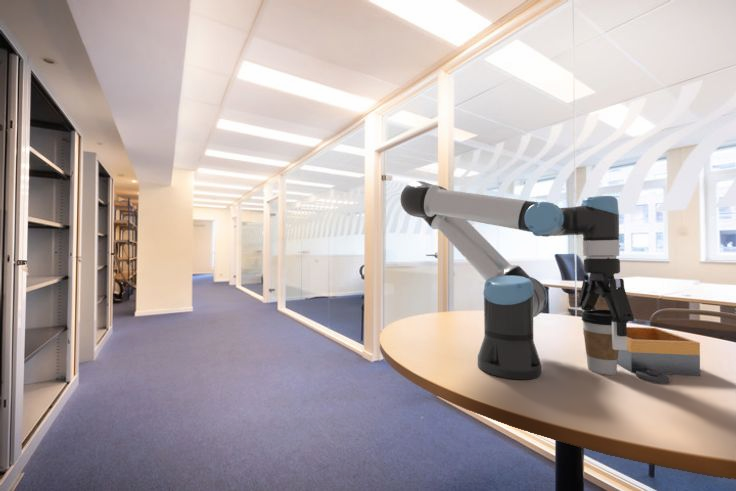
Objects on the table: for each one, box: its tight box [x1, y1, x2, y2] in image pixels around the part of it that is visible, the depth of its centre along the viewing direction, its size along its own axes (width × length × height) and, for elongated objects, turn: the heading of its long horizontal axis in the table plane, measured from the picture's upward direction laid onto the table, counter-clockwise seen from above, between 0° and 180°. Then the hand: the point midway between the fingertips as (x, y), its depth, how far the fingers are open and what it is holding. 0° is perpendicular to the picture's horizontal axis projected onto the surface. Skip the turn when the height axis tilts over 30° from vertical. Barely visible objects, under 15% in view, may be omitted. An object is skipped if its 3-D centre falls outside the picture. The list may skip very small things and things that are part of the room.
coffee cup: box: [581, 309, 619, 376], centre depth 83 cm, size 8×8×15 cm
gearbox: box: [617, 326, 701, 377], centre depth 88 cm, size 15×15×8 cm
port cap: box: [635, 369, 671, 385], centre depth 78 cm, size 6×6×2 cm
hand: (603, 341), depth 83 cm, fingers open, 13 cm apart
